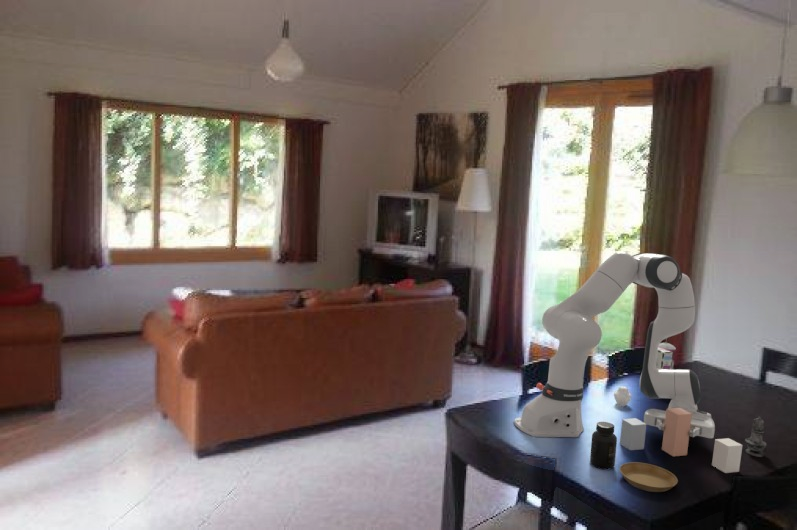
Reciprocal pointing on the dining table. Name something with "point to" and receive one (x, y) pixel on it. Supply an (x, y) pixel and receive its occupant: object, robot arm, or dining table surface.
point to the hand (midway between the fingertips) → (676, 431)
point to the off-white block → (727, 455)
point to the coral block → (676, 431)
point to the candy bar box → (664, 359)
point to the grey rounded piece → (622, 396)
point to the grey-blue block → (633, 434)
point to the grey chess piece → (756, 439)
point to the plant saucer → (648, 477)
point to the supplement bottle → (603, 446)
